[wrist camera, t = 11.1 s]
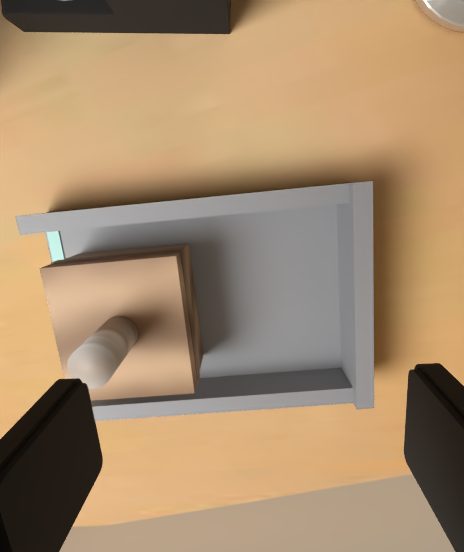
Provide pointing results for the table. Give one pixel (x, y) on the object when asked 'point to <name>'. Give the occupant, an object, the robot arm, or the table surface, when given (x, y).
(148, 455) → the table surface
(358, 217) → the bay
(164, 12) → the coffee maker
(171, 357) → the knobbed wooden box
